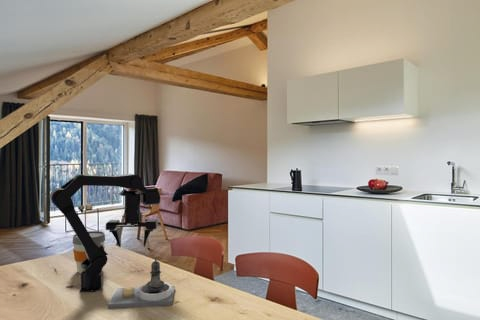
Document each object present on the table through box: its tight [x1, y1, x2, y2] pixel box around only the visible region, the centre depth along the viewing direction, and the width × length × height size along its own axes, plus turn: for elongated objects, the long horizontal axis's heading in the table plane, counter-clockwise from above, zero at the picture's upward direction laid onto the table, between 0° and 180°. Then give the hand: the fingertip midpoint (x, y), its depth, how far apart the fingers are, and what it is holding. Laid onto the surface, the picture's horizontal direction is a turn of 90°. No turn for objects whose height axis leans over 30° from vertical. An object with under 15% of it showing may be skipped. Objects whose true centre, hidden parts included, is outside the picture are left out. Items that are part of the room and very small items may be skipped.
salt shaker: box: [146, 258, 165, 294], centre depth 116 cm, size 6×6×12 cm
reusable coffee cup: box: [72, 230, 106, 274], centre depth 142 cm, size 13×13×15 cm
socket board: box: [107, 281, 176, 309], centre depth 115 cm, size 20×13×3 cm, turn 97°
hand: (132, 246), depth 131 cm, fingers open, 9 cm apart
